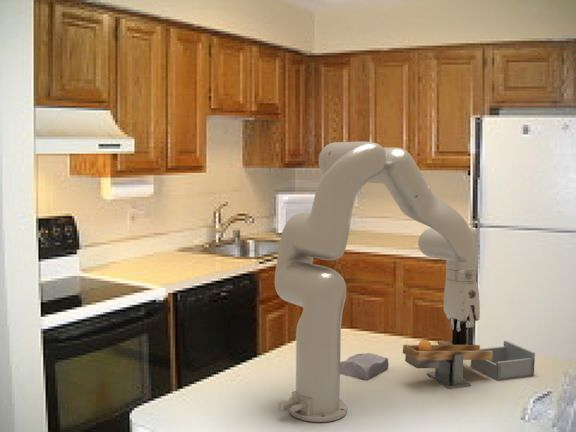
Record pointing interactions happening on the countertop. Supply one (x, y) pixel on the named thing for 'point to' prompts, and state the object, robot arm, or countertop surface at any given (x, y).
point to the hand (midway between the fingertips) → (459, 344)
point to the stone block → (364, 366)
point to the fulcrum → (450, 372)
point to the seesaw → (442, 354)
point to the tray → (507, 362)
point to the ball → (425, 346)
